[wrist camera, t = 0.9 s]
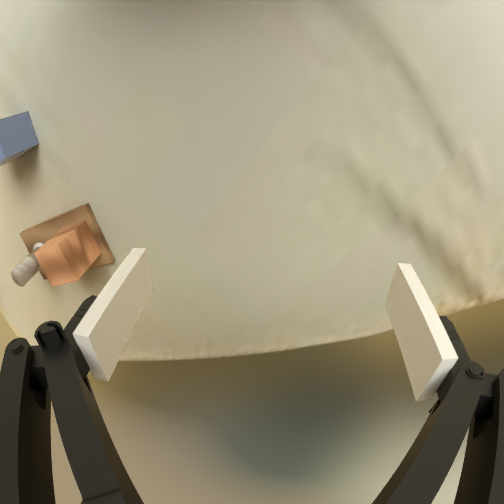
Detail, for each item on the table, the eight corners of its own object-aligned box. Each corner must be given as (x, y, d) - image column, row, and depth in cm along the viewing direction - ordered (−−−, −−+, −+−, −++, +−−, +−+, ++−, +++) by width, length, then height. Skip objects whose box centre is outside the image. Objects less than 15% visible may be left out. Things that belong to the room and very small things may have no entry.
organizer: (22, 231, 46) (-8, 256, 38) (88, 203, 42) (54, 230, 35) (46, 276, 51) (21, 305, 43) (115, 259, 47) (88, 293, 39)
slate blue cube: (8, 127, 36) (-25, 139, 30) (28, 111, 35) (-6, 121, 29) (18, 157, 39) (-14, 172, 32) (38, 143, 38) (5, 157, 31)
